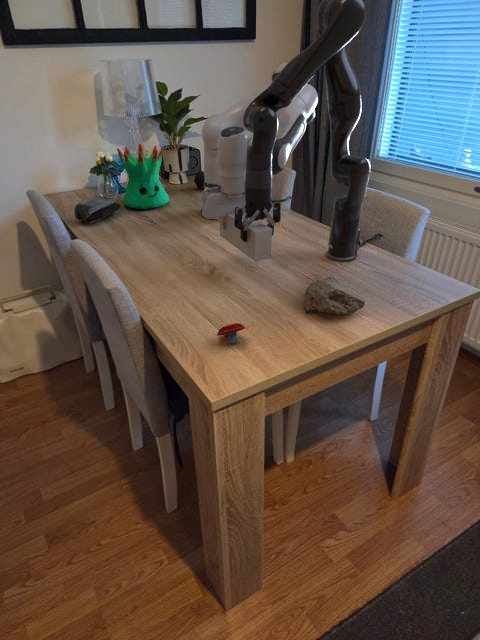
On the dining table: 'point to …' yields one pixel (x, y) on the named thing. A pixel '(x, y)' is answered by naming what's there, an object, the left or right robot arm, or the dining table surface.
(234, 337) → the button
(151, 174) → the toy
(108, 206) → the dark grey case
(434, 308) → the dining table surface
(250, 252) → the bar
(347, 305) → the artifact
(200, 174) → the toy
